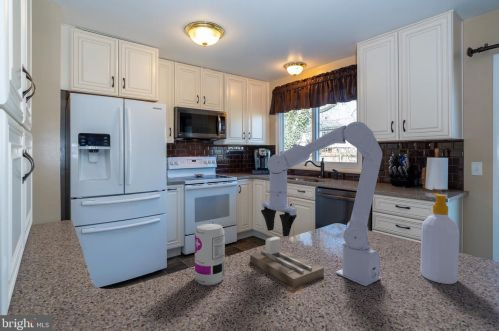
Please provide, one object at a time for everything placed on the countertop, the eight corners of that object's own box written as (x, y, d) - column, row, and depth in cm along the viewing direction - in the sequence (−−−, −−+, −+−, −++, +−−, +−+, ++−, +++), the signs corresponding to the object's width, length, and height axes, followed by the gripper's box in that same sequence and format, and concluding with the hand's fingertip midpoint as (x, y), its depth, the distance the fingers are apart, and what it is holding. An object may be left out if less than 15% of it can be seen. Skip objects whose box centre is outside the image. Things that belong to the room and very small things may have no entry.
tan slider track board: (323, 276, 75) (323, 265, 75) (293, 288, 68) (294, 276, 68) (277, 254, 91) (277, 245, 91) (250, 262, 84) (250, 252, 84)
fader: (281, 254, 84) (281, 238, 84) (270, 257, 81) (271, 241, 81) (275, 251, 86) (275, 236, 86) (265, 254, 84) (265, 238, 84)
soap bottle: (447, 271, 78) (450, 193, 77) (463, 286, 69) (467, 198, 68) (415, 268, 80) (417, 192, 80) (426, 282, 71) (429, 196, 70)
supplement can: (196, 288, 68) (195, 231, 67) (194, 274, 75) (194, 223, 75) (226, 284, 70) (226, 229, 69) (221, 271, 78) (221, 221, 77)
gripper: (255, 190, 88) (255, 229, 89) (284, 195, 76) (284, 241, 77) (270, 188, 92) (270, 226, 93) (301, 193, 80) (300, 236, 81)
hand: (278, 232), depth 85 cm, fingers open, 7 cm apart
